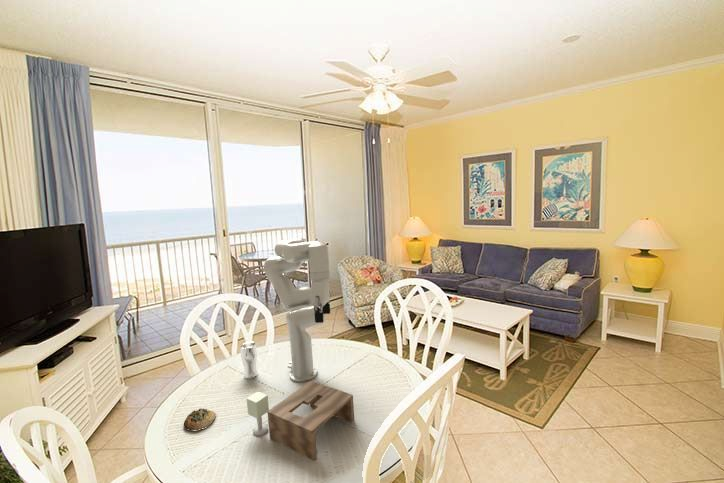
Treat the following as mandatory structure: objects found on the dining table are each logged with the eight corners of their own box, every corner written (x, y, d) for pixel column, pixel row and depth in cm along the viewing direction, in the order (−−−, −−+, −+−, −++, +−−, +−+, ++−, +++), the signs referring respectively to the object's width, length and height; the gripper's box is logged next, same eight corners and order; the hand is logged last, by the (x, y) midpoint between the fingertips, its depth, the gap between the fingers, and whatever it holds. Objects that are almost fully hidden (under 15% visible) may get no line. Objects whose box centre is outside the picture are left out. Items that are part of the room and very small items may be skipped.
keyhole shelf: (269, 438, 117) (267, 411, 116) (312, 404, 135) (311, 380, 134) (314, 460, 106) (311, 431, 105) (354, 420, 124) (352, 394, 123)
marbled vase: (245, 372, 164) (242, 342, 162) (260, 370, 164) (257, 341, 162) (241, 379, 157) (238, 348, 155) (257, 378, 157) (253, 347, 155)
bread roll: (180, 421, 129) (181, 408, 129) (212, 412, 136) (212, 400, 135) (186, 437, 120) (187, 424, 120) (219, 428, 127) (220, 415, 127)
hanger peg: (250, 432, 121) (246, 398, 119) (261, 424, 125) (258, 391, 123) (259, 437, 118) (256, 402, 116) (270, 429, 122) (267, 395, 120)
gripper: (317, 270, 142) (320, 310, 144) (303, 281, 125) (306, 326, 127) (334, 270, 140) (337, 310, 143) (323, 280, 123) (326, 326, 126)
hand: (323, 317), depth 135 cm, fingers open, 9 cm apart
